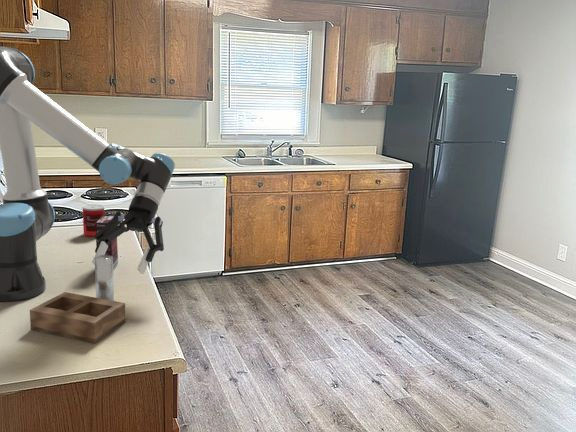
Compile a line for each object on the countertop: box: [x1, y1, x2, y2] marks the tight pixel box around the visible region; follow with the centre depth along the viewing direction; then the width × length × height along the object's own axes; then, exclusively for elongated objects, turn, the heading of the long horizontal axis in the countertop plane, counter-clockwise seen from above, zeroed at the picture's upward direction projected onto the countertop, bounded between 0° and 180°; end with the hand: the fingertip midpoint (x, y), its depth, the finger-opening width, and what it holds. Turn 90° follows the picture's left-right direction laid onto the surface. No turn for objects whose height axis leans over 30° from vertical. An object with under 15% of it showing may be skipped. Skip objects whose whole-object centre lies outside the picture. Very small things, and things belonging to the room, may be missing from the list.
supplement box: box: [95, 215, 119, 271], centre depth 163 cm, size 9×5×16 cm, turn 6°
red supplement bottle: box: [82, 203, 106, 238], centre depth 197 cm, size 8×8×11 cm
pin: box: [94, 255, 115, 301], centre depth 136 cm, size 4×4×13 cm
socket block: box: [29, 291, 127, 344], centre depth 125 cm, size 17×12×5 cm
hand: (117, 268), depth 139 cm, fingers open, 13 cm apart
